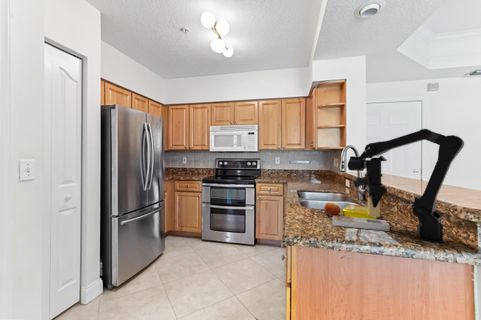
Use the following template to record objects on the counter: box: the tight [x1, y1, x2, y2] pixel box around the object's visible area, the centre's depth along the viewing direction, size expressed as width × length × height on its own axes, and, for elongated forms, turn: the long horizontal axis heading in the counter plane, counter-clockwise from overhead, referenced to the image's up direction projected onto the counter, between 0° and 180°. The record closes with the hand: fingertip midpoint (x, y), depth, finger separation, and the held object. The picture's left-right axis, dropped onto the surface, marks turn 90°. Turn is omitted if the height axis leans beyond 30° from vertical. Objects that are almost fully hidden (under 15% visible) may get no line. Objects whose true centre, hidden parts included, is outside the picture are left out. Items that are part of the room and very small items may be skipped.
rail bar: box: [332, 215, 391, 232], centre depth 100 cm, size 22×8×3 cm, turn 68°
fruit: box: [323, 202, 341, 218], centre depth 118 cm, size 8×8×8 cm
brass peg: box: [367, 196, 381, 218], centre depth 98 cm, size 4×4×8 cm
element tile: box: [342, 204, 378, 220], centre depth 116 cm, size 15×15×5 cm
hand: (373, 206), depth 98 cm, fingers closed on brass peg, 4 cm apart
